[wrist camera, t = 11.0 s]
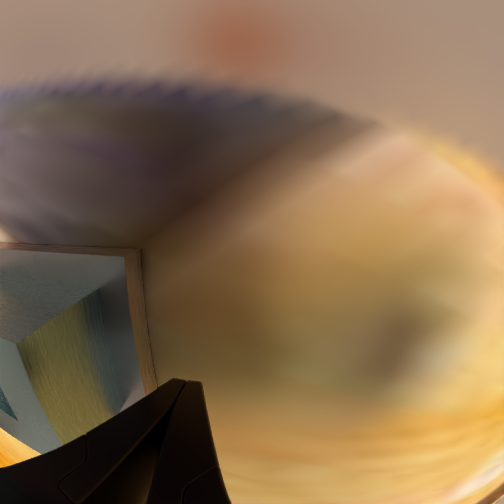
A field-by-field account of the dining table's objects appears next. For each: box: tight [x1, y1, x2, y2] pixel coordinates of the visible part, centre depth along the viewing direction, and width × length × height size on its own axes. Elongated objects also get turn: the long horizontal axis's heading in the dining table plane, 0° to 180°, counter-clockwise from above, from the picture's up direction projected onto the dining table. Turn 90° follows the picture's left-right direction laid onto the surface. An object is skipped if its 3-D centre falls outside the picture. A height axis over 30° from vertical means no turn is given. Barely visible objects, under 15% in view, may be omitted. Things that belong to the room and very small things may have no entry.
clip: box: [0, 273, 124, 454], centre depth 7 cm, size 5×7×4 cm
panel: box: [0, 243, 157, 413], centre depth 9 cm, size 7×12×1 cm, turn 88°
